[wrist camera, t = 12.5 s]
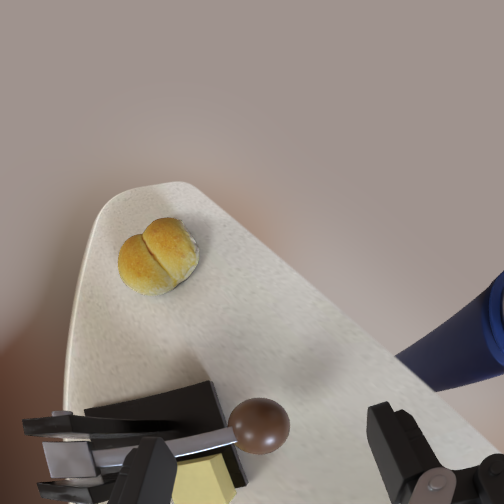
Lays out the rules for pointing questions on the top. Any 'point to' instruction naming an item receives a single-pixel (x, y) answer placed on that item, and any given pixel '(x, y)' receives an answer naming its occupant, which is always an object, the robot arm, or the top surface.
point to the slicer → (135, 435)
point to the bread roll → (158, 257)
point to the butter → (203, 482)
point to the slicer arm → (180, 441)
